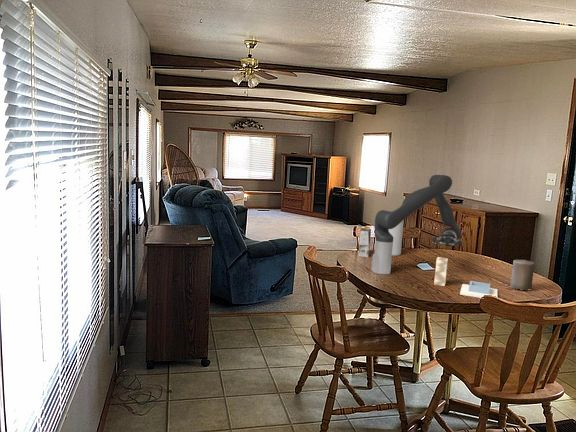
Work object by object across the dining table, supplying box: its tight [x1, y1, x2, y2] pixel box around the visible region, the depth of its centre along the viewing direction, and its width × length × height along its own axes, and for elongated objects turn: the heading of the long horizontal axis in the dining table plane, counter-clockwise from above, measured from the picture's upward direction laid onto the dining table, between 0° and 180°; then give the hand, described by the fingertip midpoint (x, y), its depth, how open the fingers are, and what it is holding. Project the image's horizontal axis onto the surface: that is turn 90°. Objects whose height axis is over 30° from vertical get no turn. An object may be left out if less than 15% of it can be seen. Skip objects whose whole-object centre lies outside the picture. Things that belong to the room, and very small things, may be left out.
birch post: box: [433, 256, 449, 287], centre depth 239 cm, size 5×5×13 cm
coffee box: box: [358, 228, 372, 258], centre depth 295 cm, size 9×6×16 cm
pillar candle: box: [509, 259, 535, 291], centre depth 239 cm, size 10×10×15 cm
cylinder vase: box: [388, 219, 405, 257], centre depth 303 cm, size 12×12×25 cm
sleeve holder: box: [459, 280, 498, 299], centre depth 227 cm, size 16×16×4 cm
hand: (446, 243), depth 247 cm, fingers open, 8 cm apart
